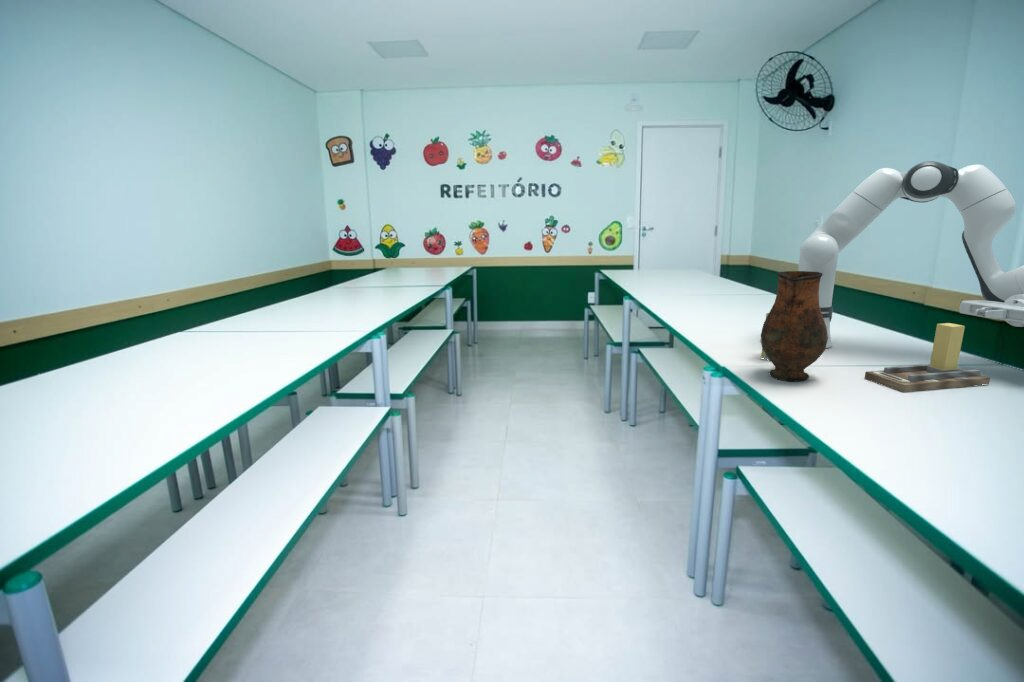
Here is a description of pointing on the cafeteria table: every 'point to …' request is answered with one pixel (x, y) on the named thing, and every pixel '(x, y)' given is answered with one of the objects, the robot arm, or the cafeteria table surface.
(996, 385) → the cafeteria table surface
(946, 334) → the slider tab
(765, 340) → the brown vase
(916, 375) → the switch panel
